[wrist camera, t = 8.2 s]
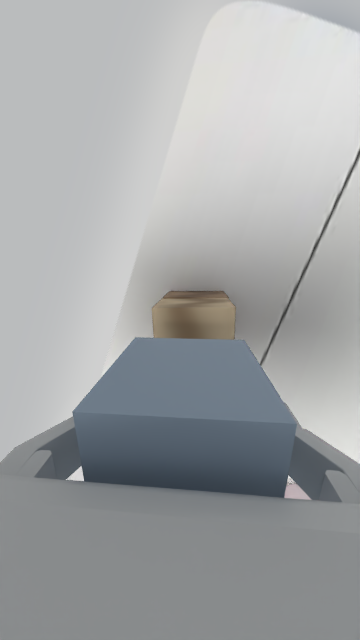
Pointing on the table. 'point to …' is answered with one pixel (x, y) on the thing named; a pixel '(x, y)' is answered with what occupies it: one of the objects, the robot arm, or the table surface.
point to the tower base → (195, 294)
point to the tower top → (194, 318)
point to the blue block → (186, 420)
